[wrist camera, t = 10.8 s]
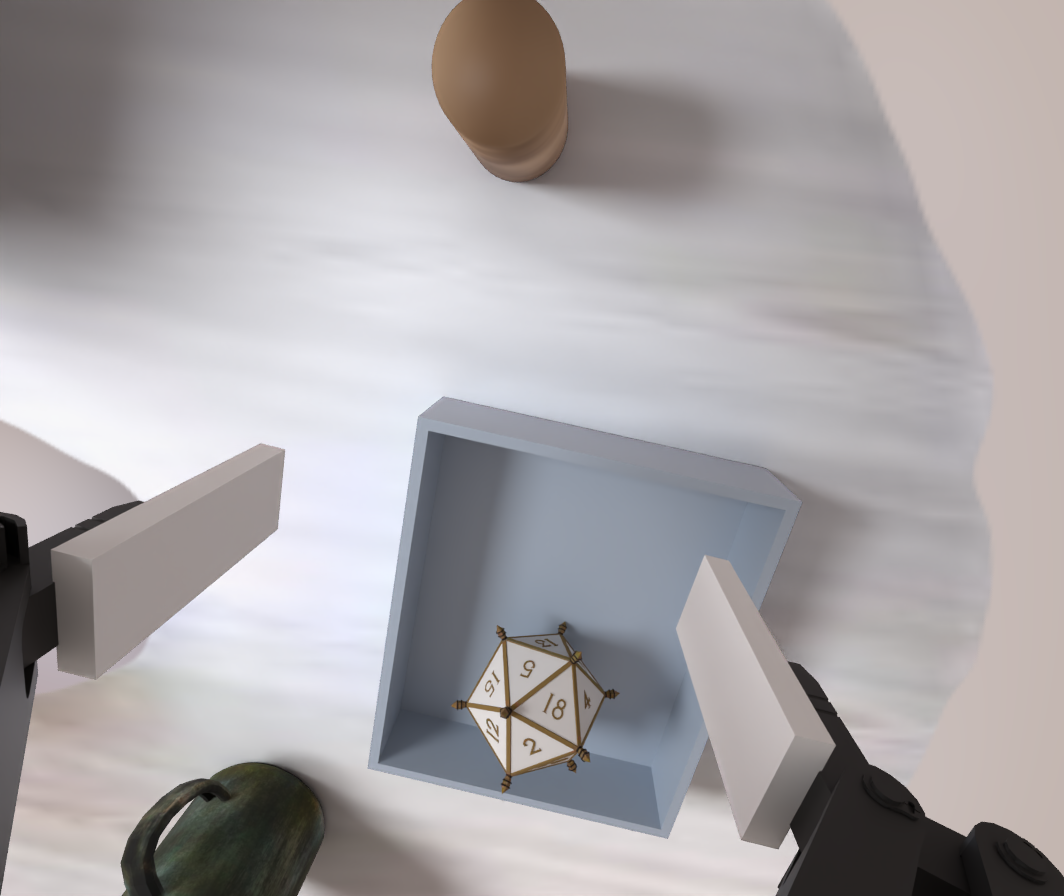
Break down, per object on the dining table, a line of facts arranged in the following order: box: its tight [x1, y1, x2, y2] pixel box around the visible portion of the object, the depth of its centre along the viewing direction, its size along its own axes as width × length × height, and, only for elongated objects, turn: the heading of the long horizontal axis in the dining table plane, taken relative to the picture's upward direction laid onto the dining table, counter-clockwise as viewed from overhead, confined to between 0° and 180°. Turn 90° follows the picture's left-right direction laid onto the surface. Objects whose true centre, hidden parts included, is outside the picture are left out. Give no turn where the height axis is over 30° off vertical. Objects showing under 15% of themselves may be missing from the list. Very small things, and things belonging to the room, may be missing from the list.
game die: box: [451, 622, 620, 794], centre depth 30 cm, size 9×8×10 cm
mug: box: [121, 763, 325, 896], centre depth 35 cm, size 11×15×12 cm
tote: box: [368, 397, 802, 839], centre depth 31 cm, size 19×23×5 cm
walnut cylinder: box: [432, 0, 568, 182], centre depth 23 cm, size 5×5×7 cm
